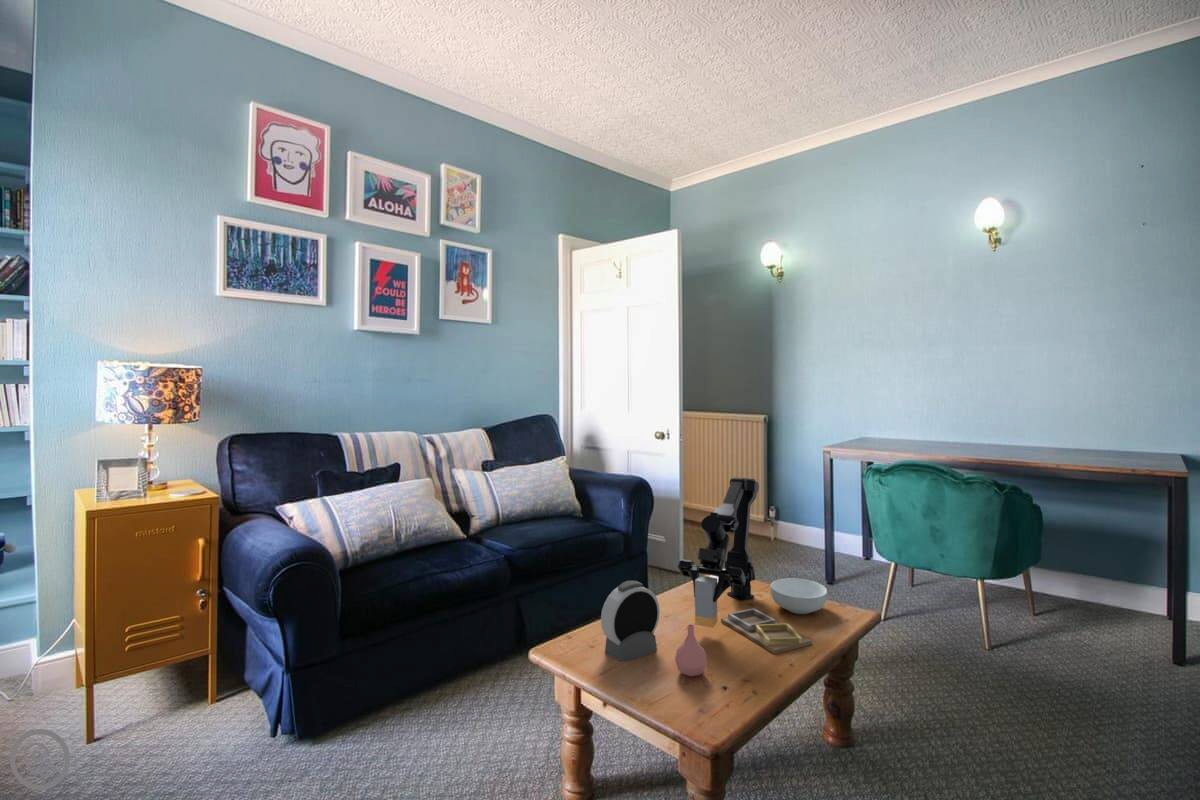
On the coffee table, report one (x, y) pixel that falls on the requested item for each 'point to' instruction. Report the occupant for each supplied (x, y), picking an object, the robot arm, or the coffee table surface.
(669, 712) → the coffee table surface
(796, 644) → the station board
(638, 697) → the coffee table surface
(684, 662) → the pink vase
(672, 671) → the coffee table surface
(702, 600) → the grey square pillar
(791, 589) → the cereal bowl
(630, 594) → the alarm clock
